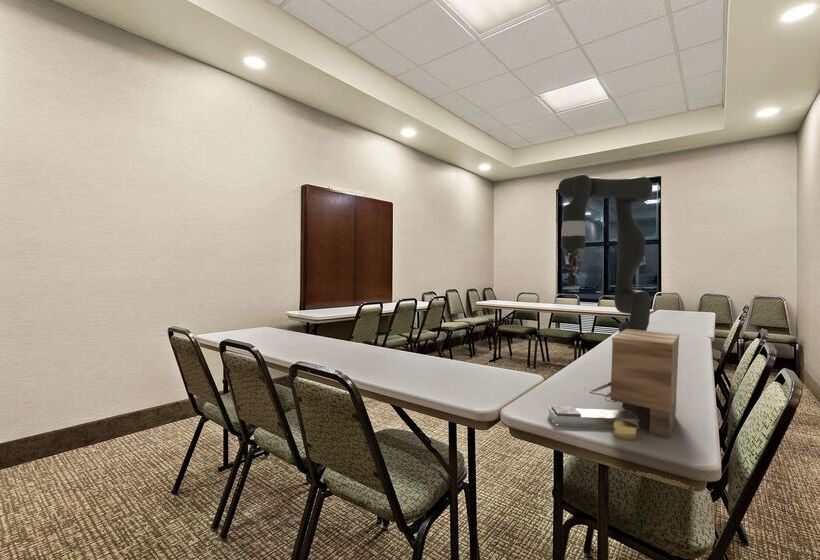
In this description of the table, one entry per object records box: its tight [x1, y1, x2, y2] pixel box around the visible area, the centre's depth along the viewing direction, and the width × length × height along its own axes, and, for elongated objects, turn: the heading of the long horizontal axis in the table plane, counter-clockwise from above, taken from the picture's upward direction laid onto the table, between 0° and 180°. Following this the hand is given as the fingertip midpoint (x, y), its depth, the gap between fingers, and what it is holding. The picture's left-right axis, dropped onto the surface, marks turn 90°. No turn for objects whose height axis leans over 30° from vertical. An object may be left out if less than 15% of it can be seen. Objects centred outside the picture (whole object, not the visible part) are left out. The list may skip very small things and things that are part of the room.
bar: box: [548, 405, 640, 430], centre depth 102 cm, size 6×21×4 cm, turn 86°
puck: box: [613, 421, 638, 442], centre depth 94 cm, size 5×5×3 cm
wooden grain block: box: [609, 329, 680, 440], centre depth 104 cm, size 19×13×23 cm
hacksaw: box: [589, 381, 618, 403], centre depth 129 cm, size 24×10×2 cm, turn 128°
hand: (571, 286), depth 131 cm, fingers closed
